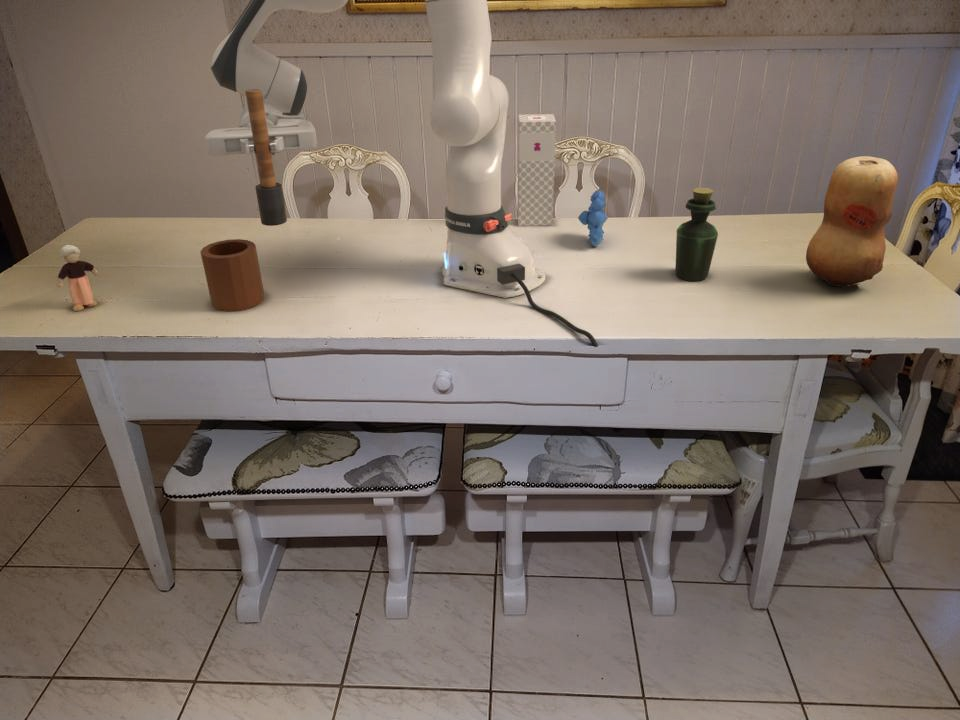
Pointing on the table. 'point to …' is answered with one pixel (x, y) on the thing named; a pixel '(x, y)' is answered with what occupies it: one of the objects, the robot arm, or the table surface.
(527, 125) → the box
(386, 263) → the table surface
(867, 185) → the butternut squash
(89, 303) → the grandmother figurine
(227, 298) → the cylindrical container
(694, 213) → the potion bottle
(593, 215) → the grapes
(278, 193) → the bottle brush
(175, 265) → the table surface
